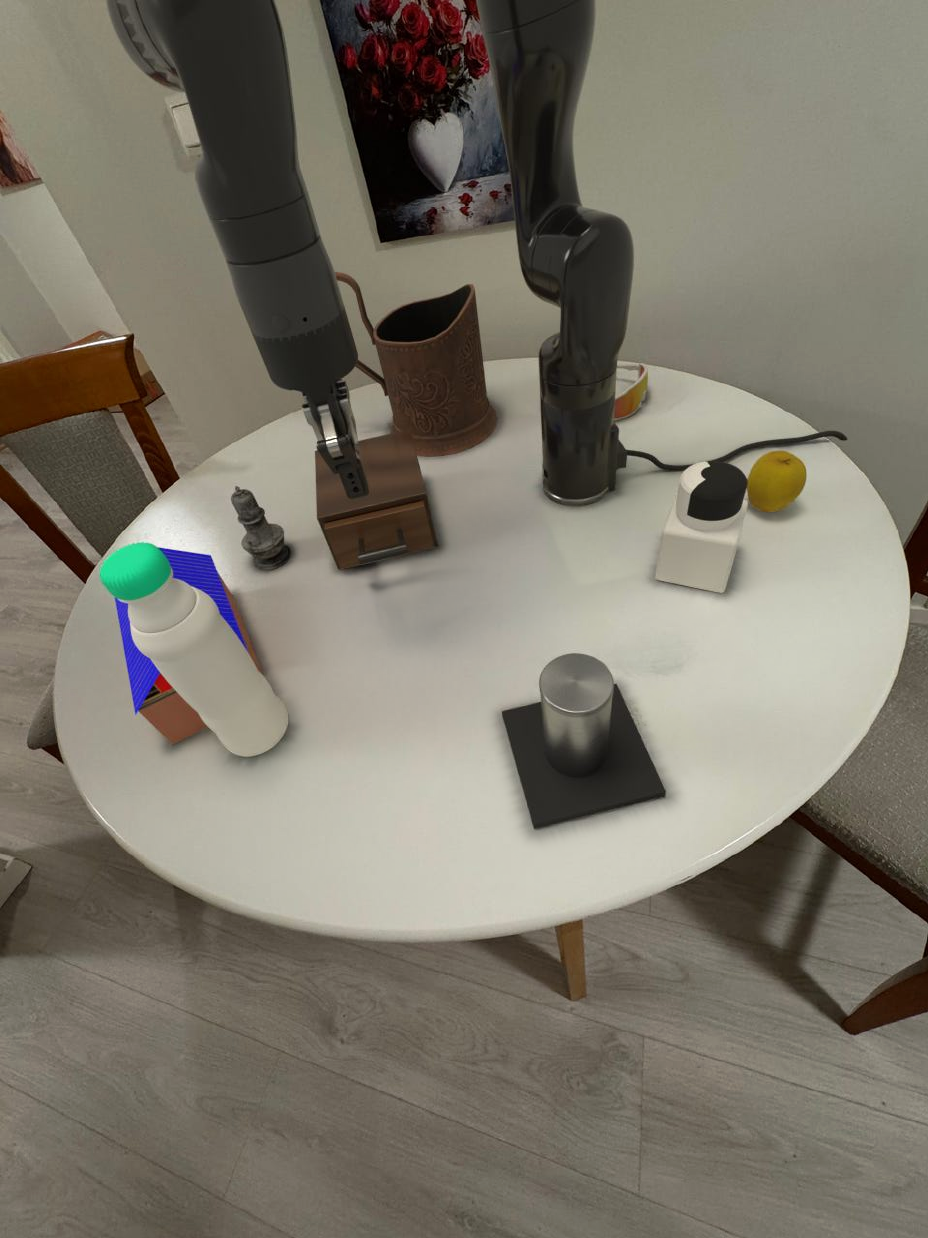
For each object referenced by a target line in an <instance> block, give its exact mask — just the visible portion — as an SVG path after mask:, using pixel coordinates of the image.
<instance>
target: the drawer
mask: <svg viewBox="0 0 928 1238" xmlns="http://www.w3.org/2000/svg"><path fill="white" fill-rule="evenodd" d="M324 529H325V532H326V534H327V537H328V539H329V542H330V544H331V547H332V549H333V551H334V554H335V556H336V559H337V561H338V564H339V566H340V569H339V570H343V569H349V568H354V567H357V566H363V565H367V564H371V563H376V562H380V561H384V560H389V559H392V558H397V557H401V556H406V555H409V554H413V553H417V552H422V551H425V550H430V549H434V548H435V547H434V544H433V540H432V536H431V531H430V527H429V523H428V518H427V514H426V510H425V506H424V502H423V501H419V502H417V501H415V502H410V503H406V504H402V505H397V506H393V507H389V508H384V509H380V510H376V511H371V512H367V513H363V514H359V515H354V516H350V517H346V518H341V519H337V520H333V522H328V523H324Z"/></svg>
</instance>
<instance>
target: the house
mask: <svg viewBox="0 0 928 1238" xmlns="http://www.w3.org/2000/svg"><path fill="white" fill-rule="evenodd" d="M157 547H158V548H159V549H160V550H161V551H162V552H163V554H164V555H165V556H166V558H167V560H168V561H169V563H170V566H171V568H172V570H173V578H175V579H179V580H182V581H184V582H186V583H187V584H189V585H190V586H192V587H195V588H197V589H199V590H201V591H203V592H205V593H206V594H207V595H209V596H210V597H211V598H212V599H213V601H214V602H215V603H216V605H217V607H218V609H219V613H220V615H221V616H222V617H223V618H224V619H225V621H226V622H227V623H228V624H229V626H230V627H231V628H232V630H233V631H234V632H235V634H236V635H237V637H238V638H239V639H240V641H241V642H242V644H243V645H244V647H245V648H246V650H247V652H248V653H249V655H250V656H251V658H252V660H253V662H254V663H255V665H256V667H257V669H258V671H259V672H260V673H261V674H262V675H263V676H264V677H265V675H264V672H263V668H262V667H261V664H260V661H259V659H258V657H257V654H256V651H255V650H254V647H253V644H252V641H251V639H250V637H249V634H248V632H247V629H246V627H245V624H244V621H243V618H242V616H241V614H240V611H239V609H238V606H237V603H236V601H235V598H234V596H233V594H232V592H231V590H230V589H229V587H228V586H227V584H226V583H225V581H224V579H223V578H222V576H221V574H220V573H219V571H218V570H217V567H216V564H215V562H214V559H213V557H212V554H206V553H200V552H199V553H198V552H193V551H186V550H179V549H172V548H167V547H166V548H165V547H159V546H157ZM114 602H115V607H116V615H117V619H118V624H119V630H120V635H121V640H122V641H121V642H122V646H123V653H124V659H125V663H126V669H127V674H128V681H129V686H130V692H131V693H130V694H131V697H132V703H133V709H134V714H135V716H136V715H137V714H138V713H139V714H140V715H141V716H142V717H143V718H145V720H147V721H148V722H149V724H151V725H152V726H153V728H155V729H156V730H157V732H159V733H160V734H161V735H162V736H163V737H164V738H165V739H166V740H167V741H168V742H169V743H170V744H171V745H172V746H173V745H174V744H176V743H179V742H181V741H183V740H185V739H187V738H188V737H191V736H193V735H195V734H197V733H198V732H201V731H202V730H204V729H207V728H209V727H208V726H207V725H206V724H205V723H204V722H203V720H202V719H201V717H200V715H199V713H198V712H197V711H196V710H194V709H193V708H192V707H191V706H190V705H189V704H188V703H187V702H186V701H185V700H184V699H183V698H182V697H181V696H180V695H179V694H178V693H177V692H176V690H175V689H174V688H173V687H172V686H171V685H170V684H169V683H168V681H167V680H166V679H165V678H164V677H163V675H162V674H161V673H160V672H159V670H158V669H157V668H156V666H155V665H154V663H153V662H152V661H151V659H150V658H149V657H147V656H145V655H144V654H143V653H142V652H141V651H140V650H139V649H138V648H137V647H136V645H135V643H134V641H133V639H132V635H131V627H130V620H129V617H128V603H123V602H121V601H119V600H118V599H117V598H116V597H114Z"/></svg>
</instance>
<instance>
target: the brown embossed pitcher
mask: <svg viewBox="0 0 928 1238" xmlns="http://www.w3.org/2000/svg"><path fill="white" fill-rule="evenodd" d="M334 272H335V275H336V279H337V282H343V283H345V284H347V285H348V286H349V287H351V289H352V290H353V292H354V294H355V297H356V302H357V306H358V310H359V314H360V318H361V321H362V323H363V325H364V327H365V329H366V331H367V333H368V335H369V337H370V339H371V343H372V346H375V348H376V353H377V357H378V360H379V365H380V368H381V372H382V376H381V375H380V374H379V373H377V371H374V370H373V369H372V368H371V367H369V366H368V365H366V364H365V363H363V362H362V361H361V360H360V359H358V361H357V364H356V366H355V367H354V368H357V369H358V370H359V371H361V372H362V373H363V374H364V375H366V376H368V377H369V378H370V379H372V380H373V381H375V383H377V384H379V385H380V386H381V388H382V390H383V394H384V397H388V400H389V404H390V408H391V413H392V425H391V427H390V431H389V432H390V433H389V434H391V433H395V432H400V431H404V430H408V429H410V430H411V434H412V438H413V442H414V446H415V450H416V453H417V456H419V457H420V456H422V457H443V456H447V455H452V454H457V453H460V452H463V451H467V450H469V449H471V448H474V447H475V446H477V445H479V444H481V443H483V442H484V441H485V440H486V439H487V438H489V436H491V435H492V433H493V432H494V430H495V429H496V428H497V425H498V421H499V417H498V413H497V411H496V410H495V409H494V407H493V406H492V405H491V401H490V399H489V396H488V392H487V383H486V373H485V366H484V356H483V348H482V340H481V332H480V321H479V314H478V305H477V296H476V289H475V286H474V284H472V283H467V284H464V285H463V286H461V287H458V289H456V290H454V291H452V292H449V293H446V294H443V295H440V296H434V297H430V298H424V299H420V300H414V301H411V302H408V303H405V304H402V305H400V306H398V307H396V308H394V309H393V310H391V311H389V313H387V314H385V316H383V317H382V318H381V319H380V320H379V321H378V322H377V323H376V325H375V326H373V324H372V323H371V321H370V319H369V317H368V313H367V310H366V305H365V301H364V298H363V294H362V290H361V286H360V285H359V284H358V282H357V281H356V279H354V278H353V277H352V276H351V275H350V274H348V273H344V272H339V271H334Z"/></svg>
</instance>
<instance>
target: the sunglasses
mask: <svg viewBox="0 0 928 1238" xmlns="http://www.w3.org/2000/svg"><path fill="white" fill-rule="evenodd" d="M617 369H622V370H627V371H638V372H637V379H636V381H635V382H634V383H632V385H630V386H629V387H627V388H626V389H625V390H624V391H623V392H622V393H620V394H619V395H617V396H616V395H615V409H614V421H619V420H623V419H627V418H628V417H631V416H632V415H634V414H635V413H636V412H637V411H638V410H639V408H640V406H641V404H642V402H644V401H645V400H646V397H647V391H648V383H649V375H648V371H649V367H648V364H645V363H644V362H640V363H623V364H617Z"/></svg>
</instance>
